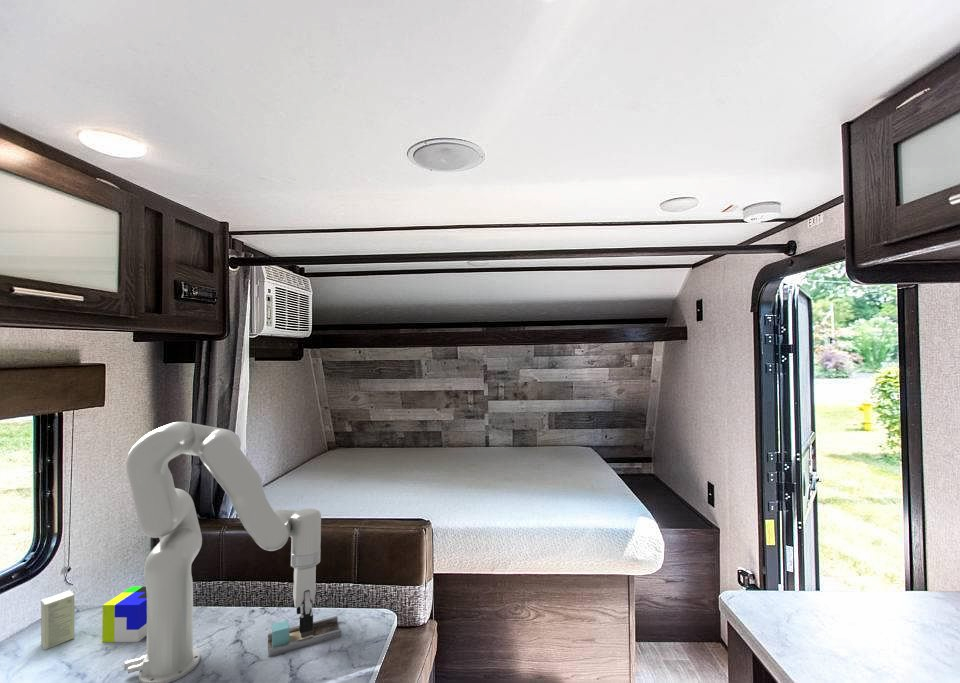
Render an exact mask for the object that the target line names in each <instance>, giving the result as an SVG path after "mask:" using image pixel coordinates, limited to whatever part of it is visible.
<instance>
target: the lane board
mask: <svg viewBox="0 0 960 683" xmlns="http://www.w3.org/2000/svg"><path fill="white" fill-rule="evenodd" d="M338 618H339V617H338V615H335V616H331V617H328V618H323V619H320V620H316V621H313V636H312V637H309V638H305V639H301V640H298V641H294V642H290V643H287V644H283V645H279V646H276V647H272V632H268V633H267V645H268V646H267V648H268V649H267V652H268V654H267V655H268V656H267V657H269V658H270V657H273V656H276V655H280V654H283V653H287V652H291V651H294V650H298V649H302V648H306V647H308V646H312V645H313V646H314V645H316V644H320V643H322V642H326V641H330V640H334V639H337V638H341V637H342V635H343V634H342V628H340V627H339V623H338ZM299 626H300V625H297V626H293V627H289V633H292V632H296V631H299Z"/></svg>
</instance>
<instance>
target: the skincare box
mask: <svg viewBox="0 0 960 683" xmlns="http://www.w3.org/2000/svg"><path fill="white" fill-rule="evenodd" d="M40 603H41V604H40V609H41V610H40V614H41V616H40V618H41V620H40V624H41V625H40V626H41V627H40V629H41V630H40V632H41V633H40V636H41V638H40V639H41V640H40V642H41V646H42V648H43V650H48V649H50V648H53V647H55V646H57V645H60V644H63V643H65V642H68V641H71V640H72V639H74V638H75V594H74V593H73V591H71V590H70V589H69V590H67V591H63V592H60V593H58V594H57V593H56V594H53V595H52V596H49V597H46V598H42V599H41V600H40Z"/></svg>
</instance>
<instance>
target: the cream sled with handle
mask: <svg viewBox="0 0 960 683" xmlns="http://www.w3.org/2000/svg"><path fill="white" fill-rule="evenodd" d="M312 614H313V612H312ZM313 615H314V614H313ZM313 632H314V629H312V631H308V632H304V633H300V632H299V631H296V632H292V633H289V643H290V642H294V641H298V640H301V639H305V638H309V637H312V636H313V635H314V633H313ZM271 647H273V644H272V646H271Z"/></svg>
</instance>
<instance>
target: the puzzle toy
mask: <svg viewBox="0 0 960 683" xmlns="http://www.w3.org/2000/svg"><path fill="white" fill-rule="evenodd" d="M101 631H102V633H101V634H102V638H101V640H102V643H139V642H141V640H143V638H145V637H147V592H146V586H130V587H129V588H128V589H126V590H124V591H123V592H121V593H119V594H118V595H117V596H115V597H113V598H112V599H110V600H108V601H107V602H106V603H104V604H102V630H101Z"/></svg>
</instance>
